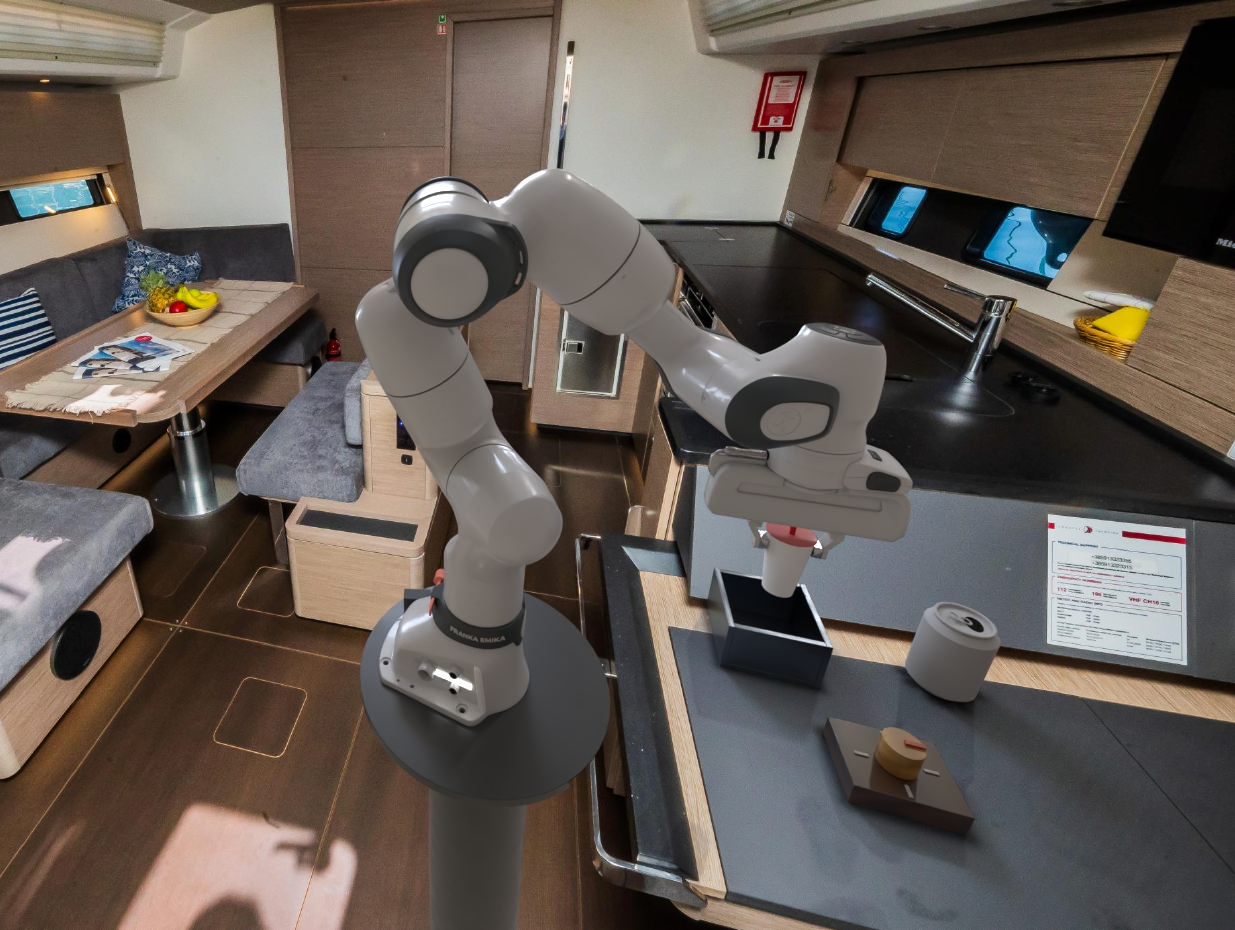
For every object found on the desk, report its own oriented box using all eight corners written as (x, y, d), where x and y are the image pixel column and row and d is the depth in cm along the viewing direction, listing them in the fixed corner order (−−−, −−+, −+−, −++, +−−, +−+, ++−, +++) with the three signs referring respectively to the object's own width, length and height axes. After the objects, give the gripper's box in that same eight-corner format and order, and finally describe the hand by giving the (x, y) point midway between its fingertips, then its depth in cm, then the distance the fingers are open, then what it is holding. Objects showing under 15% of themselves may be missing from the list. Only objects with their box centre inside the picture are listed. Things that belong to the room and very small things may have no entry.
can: (982, 716, 77) (1014, 649, 72) (908, 691, 80) (934, 626, 76) (966, 673, 83) (995, 609, 78) (898, 652, 86) (922, 589, 82)
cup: (778, 607, 72) (799, 530, 68) (743, 578, 77) (760, 504, 73) (812, 597, 73) (834, 521, 69) (775, 569, 78) (794, 496, 74)
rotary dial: (847, 802, 68) (854, 784, 67) (822, 732, 76) (828, 715, 74) (966, 836, 64) (976, 818, 63) (927, 759, 72) (934, 741, 71)
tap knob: (882, 774, 68) (891, 752, 66) (868, 742, 71) (876, 720, 70) (924, 785, 66) (934, 763, 65) (908, 752, 70) (917, 731, 68)
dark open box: (719, 665, 86) (728, 626, 83) (706, 604, 96) (714, 567, 94) (820, 689, 81) (833, 648, 78) (794, 622, 92) (805, 584, 89)
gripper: (716, 457, 69) (698, 550, 74) (932, 485, 62) (896, 585, 67) (708, 432, 74) (692, 520, 79) (906, 455, 67) (875, 550, 72)
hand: (787, 550), depth 73 cm, fingers closed on cup, 5 cm apart
